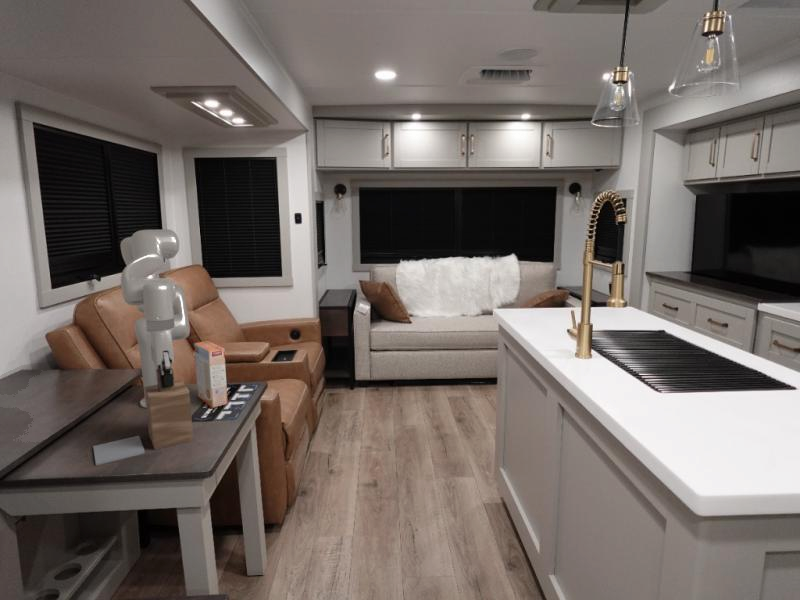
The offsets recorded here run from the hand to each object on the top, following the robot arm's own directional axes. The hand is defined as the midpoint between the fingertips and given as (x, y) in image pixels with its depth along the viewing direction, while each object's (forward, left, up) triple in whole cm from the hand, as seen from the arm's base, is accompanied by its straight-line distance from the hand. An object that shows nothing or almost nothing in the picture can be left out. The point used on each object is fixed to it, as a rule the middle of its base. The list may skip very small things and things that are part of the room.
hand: (166, 383), depth 148 cm
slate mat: (0, -14, -17) cm, 22 cm away
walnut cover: (0, 0, -17) cm, 17 cm away
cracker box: (-23, +18, -18) cm, 34 cm away
